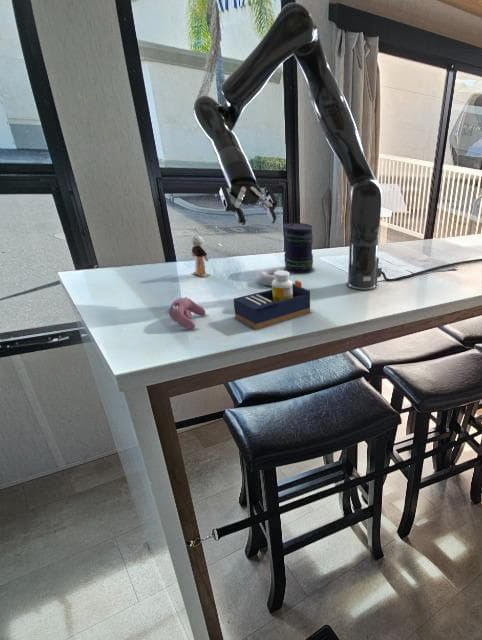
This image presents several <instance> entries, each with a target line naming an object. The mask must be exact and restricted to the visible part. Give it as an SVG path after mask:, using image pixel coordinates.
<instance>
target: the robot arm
mask: <svg viewBox="0 0 482 640" xmlns="http://www.w3.org/2000/svg"><path fill="white" fill-rule="evenodd" d="M292 56H293V57H294V58H295V60H296V63H297V64H298V66H299V68H300V71H301V73H302V75H303V77H304V80H305V82H306V86H307V89H308V93H309V96H310V101H311V104H312V107H313V110H314V113H315V115H316V118H317V121H318V123H319V125H320V128H321V130H322V132H323V135H324V136H325V138H326V140H327V142H328V145H329V146H330V148H331V150H332V152H333V153H334V155H335V156H336V158H337V159H338V161H339V162H340V165H341V166H342V169H343V170H344V173H345V176H346V179H347V181H348V184H349V187H350V191H351V192H350V211H349V212H350V213H349V215H350V216H349V249H348V273H347V276H348V277H347V286H348V287H350V288H351V289H354V290H360V291H368V290H369V291H370V290H372V289H374V288H376V286H377V285H378V278H381V277H383V280H385V281H387V282H397V281H400V280H404V279H408V278H411V277H414V276H418V275H421V274H425V273H428V272H433V271H435V270H439V269H443V268H447V267H452V266H456V265H462V264H463V265H464V264H469V263H475V262H482V258H477V259H469V260H461V261H457V262H451V263H446V264H443V265H439V266H434V267H431V268H427V269H423V270H420V271H417V272H414V273H413V272H412V273H410V274H407V275H402V276H399V277H395V278H388V277H387V276H386V273H385V272H384V271H383V270H382V269H383V268H382V267H381V266H379V261H380V258H379V257H378V251H379V237H380V227H381V215H382V205H383V204H382V202H383V201H382V200H383V196H382V195H383V194H382V188H381V186H380V184H379V182H378V181H377V179H376V177H375V175H374V173H373V171H372V169H371V166H370V165H369V163H368V161H367V158H366V156H365V153H364V149H363V146H362V142H361V138H360V135H359V132H358V130H357V129H358V128H357V126H356V123H355V120H354V118H353V115H352V111H351V110H350V108H349V105H348V102H347V100H346V98H345V95H344V94H343V91H342V89H341V87H340V86H339V83H338V82H337V79H336V78H335V75H334V74H333V72H332V70H331V67H330V65H329V63H328V60H327V57H326V54H325V51H324V48H323V44H322V42H321V38H320V35H319V31H318V27H317V24H316V21H315V19H314V17H313V15H312V13H311V12H310V11H309V10H308V8H307V7H306V6H304V5H303V4H301V3H298V2H290V3H287V4H285V5H284V6H283V7H282V8H281V10H280V11H279V13H278V14H277V16H276V18H275V20H274V21H273V23H272V24H271V26H270V27H269V29H268V31H267V32H266V33H265V35H264V36H263V37H262V39H261V40H260V42H259V43H258V44H257V45H256V47H255V48H254V49H253V50H252V51H251V53H250V54H249V55H247V57H246V58H245V59H244V60H243V61H242V62H241V63H240V64H239V65H238V66H237V67H236V68H235V69H234V70H233V71H232V73H230V75H228V77H227V78H226V79H225V80H224V81H223V82H222V84H221V86H220V91H221V94H222V96H223V97H224V102H223V104H220V103H219V102H218V101H217V100H215V99H214V98H213V97H211V96H209V95H200V96H198V97H197V98H196V99H195V101H194V103H193V114H194V117H195V120H196V122H197V124H198V125H199V127H200V129H201V130H202V132H203V133H204V135H205V137H206V138H207V140H208V141H209V142H210V145H212V148H213V151H214V153H215V155H216V158H217V160H218V164H219V167H220V170H221V172H222V174H223V177H224V180H225V181H226V184H227V186H228V187H226V186H225V185H221V186H220V189H219V192H218V193H219V196H220V199H221V202H222V205H223V208H224V210H225V212H232V213H233V214H234V216H235V218H236V221H237V222H238V224H240V225H241V226H245V225H246V222H247V220H246V218H245V214H244V213H243V210H242V208H241V204H243V206H248V205H252V206H254V205H256V206H258V207H259V208H262V209H263V210H264V211H265V213H266V215H267V217H268V220H269V222H270V224H275V222H276V220H277V214H276V213H275V210H276V208H277V206H278V205H279V203H278V200H277V199H276V197H275V194H274V192H273V191H272V188H271V186H269V185H266V186H265V187H260V186H259V185H258V183H257V180H256V179H257V178H256V176H255V174H254V172H253V170H252V167H251V164H250V163H249V160H248V158H247V155H246V154H245V152H244V150H243V149H242V146H241V144H240V141H239V138H238V137H237V135H236V134H235V133H234V132H233V130H234V128H235V127H236V125H237V123H238V121H239V119H240V118H241V115H242V114H243V111H244V110H245V108H246V107H247V106H248V105H249V104H250V103H251V102H252V101H253V100H254V98H256V96H257V95H258V94H259V93H260V92H261V91H262V90H263V88H264V87H265V86H266V84H267V83H268V81H269V80H270V79H271V77H272V75H273V74H274V73H275V72H276V71H277V69H279V67H280V66H281V65H282V64H283V63H284V62H285V61H286V60H287V59H289V58H290V57H292ZM230 196H232V197H233V198H234V199H235V200H236V201H235V203H234V204H233V203H232V201H231V198H230Z"/></svg>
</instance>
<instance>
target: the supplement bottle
mask: <svg viewBox="0 0 482 640" xmlns="http://www.w3.org/2000/svg"><path fill="white" fill-rule="evenodd" d="M274 278H275V280H273V281H272V286H271V289H272V294H273V301H274V302H279V301H282V300H286V299H290V298H293V285H292V283H293V281H292V280H291V279H290V272H288V271H286V270H282V271H275V272H274Z"/></svg>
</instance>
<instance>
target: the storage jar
mask: <svg viewBox="0 0 482 640" xmlns="http://www.w3.org/2000/svg"><path fill="white" fill-rule="evenodd" d="M313 234H314V233H313V226H312V225H310V224H307V223H302V222H287V223H284V224H283V242H284V251H285V252H284V265H285V267H284V268H285V271H287V272H289V273H292V274H300V275H301V274H302V275H303V274H309V273H312V272H313V270H314V268H313V265H314V254H313V242H314V240H313V239H314V238H313V237H314V235H313Z"/></svg>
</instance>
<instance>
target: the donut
mask: <svg viewBox="0 0 482 640" xmlns="http://www.w3.org/2000/svg"><path fill="white" fill-rule="evenodd" d="M275 271H283V270H282V269H278V268H265V269H261V270H259V272H257V273H256V280H257V282H258V283H259V284H261V285H264V286H267V287H272V281H273V280H275V278H274V272H275Z"/></svg>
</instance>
